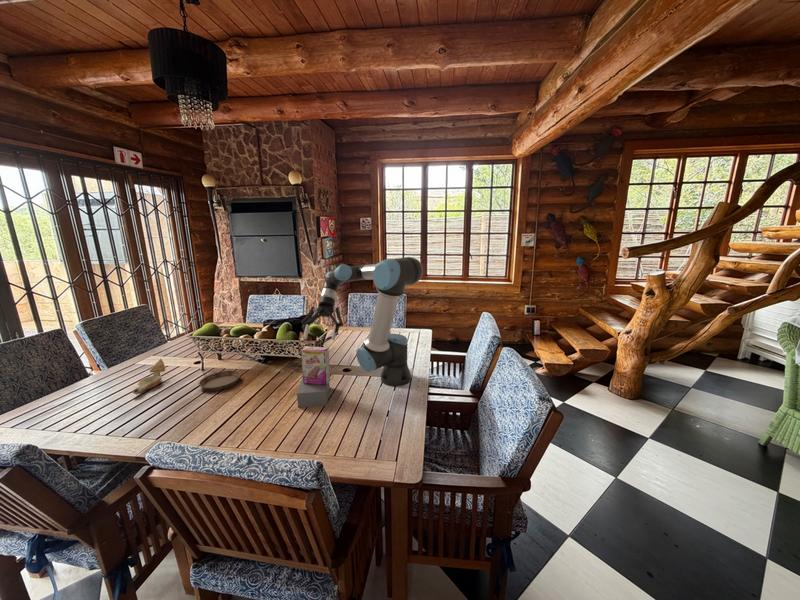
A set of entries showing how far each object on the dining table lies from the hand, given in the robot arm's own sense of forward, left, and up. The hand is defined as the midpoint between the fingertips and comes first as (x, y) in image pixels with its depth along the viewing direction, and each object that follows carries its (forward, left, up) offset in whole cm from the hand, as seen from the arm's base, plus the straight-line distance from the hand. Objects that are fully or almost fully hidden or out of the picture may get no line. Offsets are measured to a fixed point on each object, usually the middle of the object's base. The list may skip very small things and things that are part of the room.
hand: (318, 338), depth 147 cm
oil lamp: (+83, +10, -25) cm, 87 cm away
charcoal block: (0, +9, -25) cm, 27 cm away
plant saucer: (+51, +3, -25) cm, 57 cm away
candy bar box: (-1, +8, -18) cm, 20 cm away
